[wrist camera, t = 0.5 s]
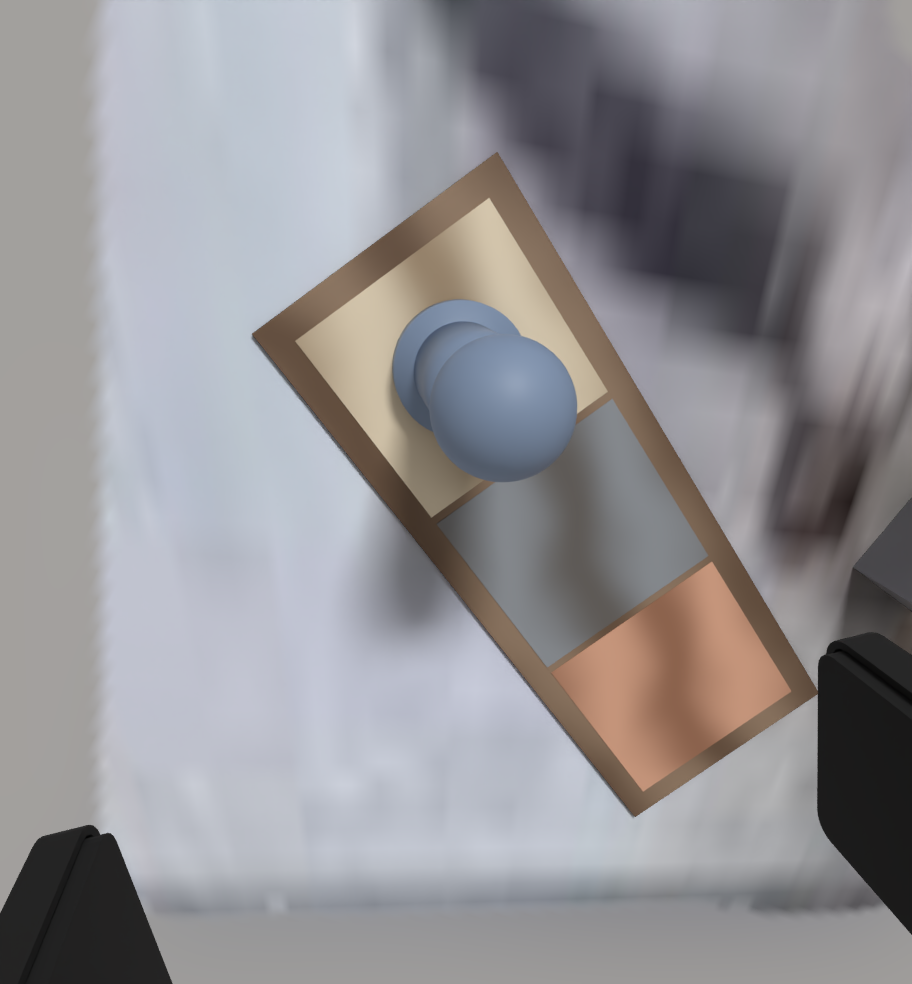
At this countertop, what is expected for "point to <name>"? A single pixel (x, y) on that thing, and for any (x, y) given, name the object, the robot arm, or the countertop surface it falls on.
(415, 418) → the pawn
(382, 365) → the board
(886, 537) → the die
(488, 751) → the countertop surface
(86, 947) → the robot arm
